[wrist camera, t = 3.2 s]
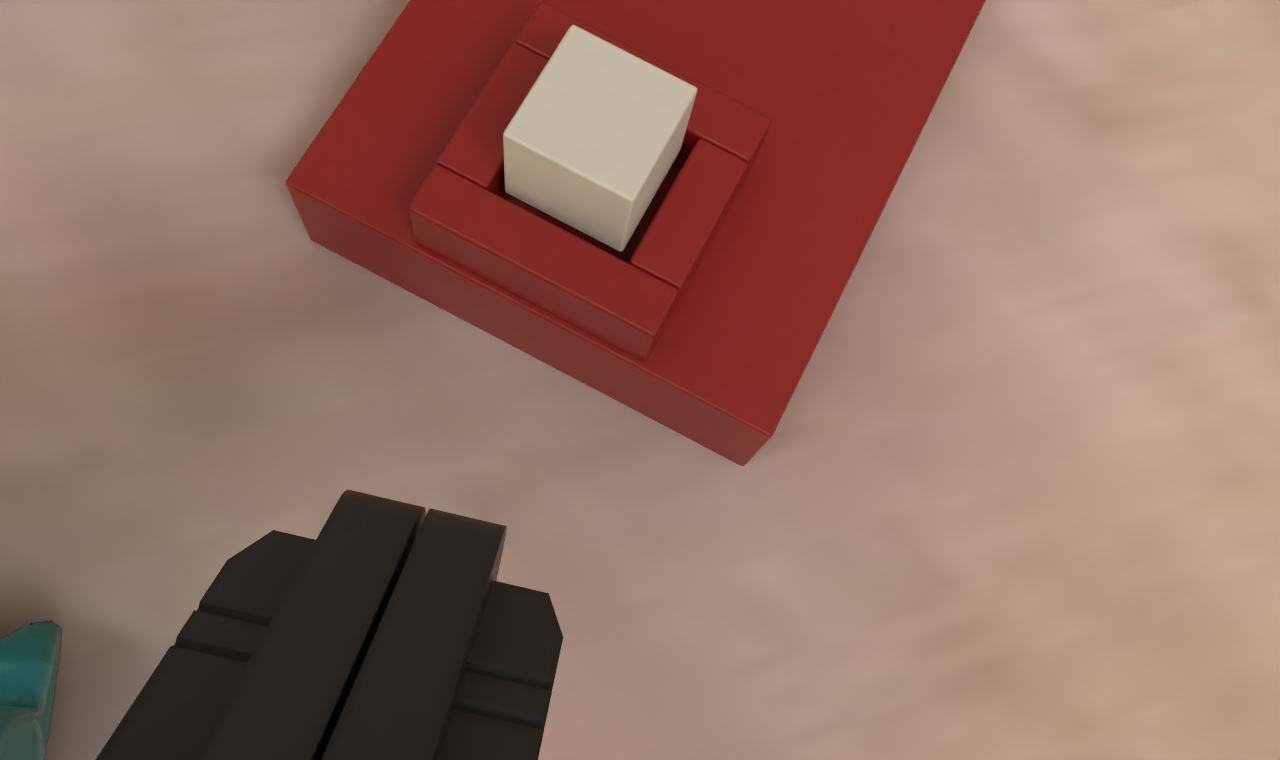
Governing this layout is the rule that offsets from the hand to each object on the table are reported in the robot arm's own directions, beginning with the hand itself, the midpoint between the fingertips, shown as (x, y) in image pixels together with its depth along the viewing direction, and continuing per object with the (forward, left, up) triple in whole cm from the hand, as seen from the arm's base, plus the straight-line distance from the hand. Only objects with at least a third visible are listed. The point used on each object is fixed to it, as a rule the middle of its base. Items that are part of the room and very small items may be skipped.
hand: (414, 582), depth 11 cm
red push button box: (-2, +15, -15) cm, 22 cm away
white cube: (-2, +10, -11) cm, 15 cm away
